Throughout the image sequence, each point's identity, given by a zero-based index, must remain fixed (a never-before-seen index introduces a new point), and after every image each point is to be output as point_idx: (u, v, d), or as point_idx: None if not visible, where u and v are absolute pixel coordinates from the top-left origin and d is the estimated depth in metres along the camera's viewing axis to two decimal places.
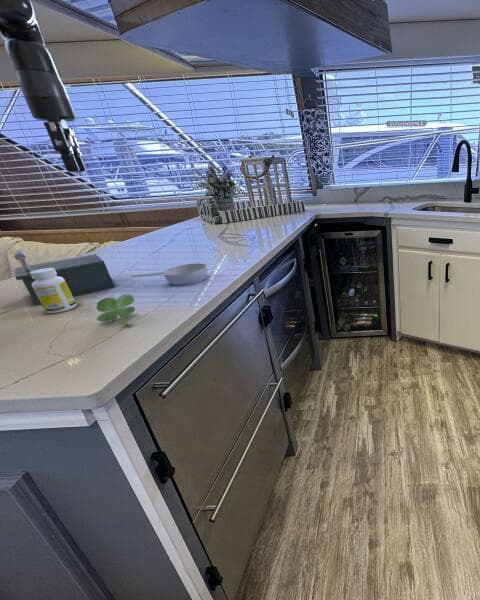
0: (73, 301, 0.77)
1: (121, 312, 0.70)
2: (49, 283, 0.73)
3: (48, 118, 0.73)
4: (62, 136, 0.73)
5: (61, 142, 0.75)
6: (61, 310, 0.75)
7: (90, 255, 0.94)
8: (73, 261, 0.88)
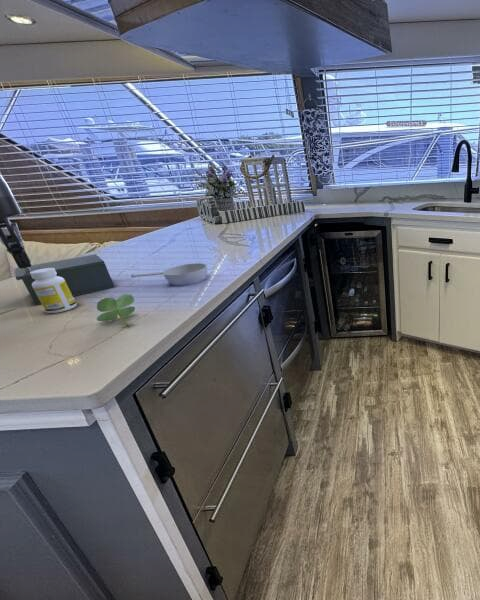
0: (73, 301, 0.77)
1: (121, 312, 0.70)
2: (49, 283, 0.73)
3: None
4: (16, 239, 0.75)
5: (11, 241, 0.77)
6: (61, 310, 0.75)
7: (90, 255, 0.94)
8: (73, 261, 0.88)
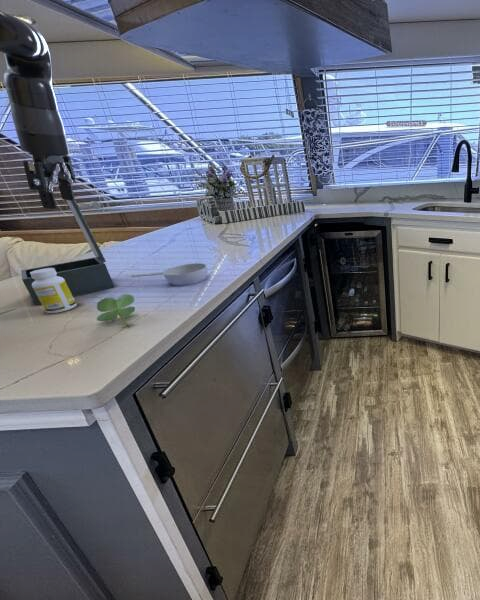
0: (73, 301, 0.77)
1: (121, 312, 0.70)
2: (49, 283, 0.73)
3: (33, 154, 0.69)
4: (40, 177, 0.69)
5: None
6: (61, 310, 0.75)
7: None
8: None
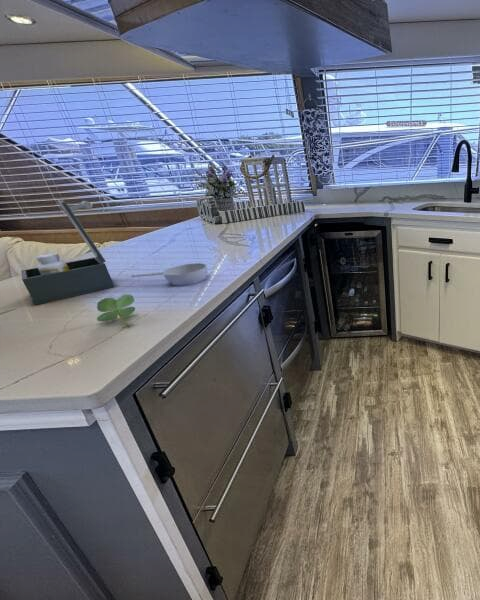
0: None
1: (121, 312, 0.70)
2: (53, 266, 0.83)
3: None
4: None
5: None
6: None
7: None
8: None
